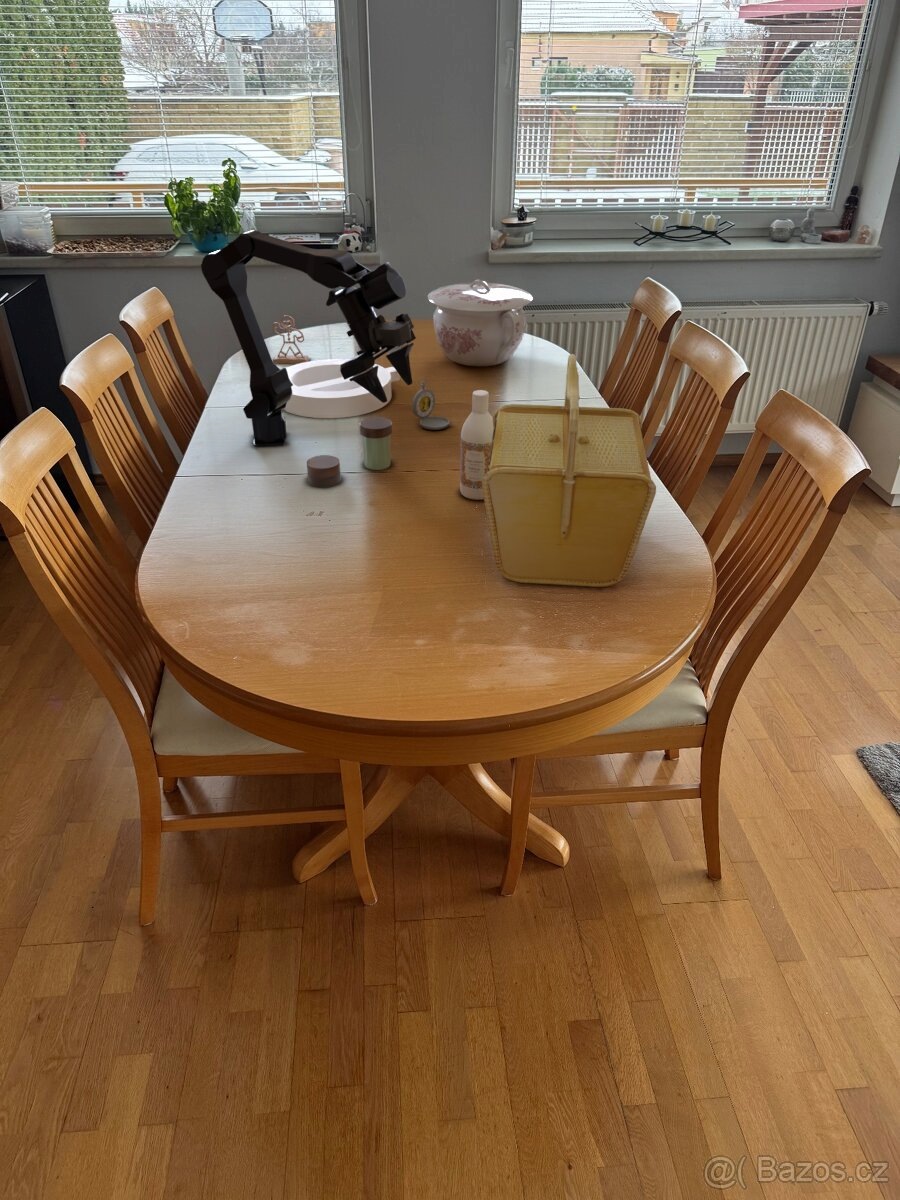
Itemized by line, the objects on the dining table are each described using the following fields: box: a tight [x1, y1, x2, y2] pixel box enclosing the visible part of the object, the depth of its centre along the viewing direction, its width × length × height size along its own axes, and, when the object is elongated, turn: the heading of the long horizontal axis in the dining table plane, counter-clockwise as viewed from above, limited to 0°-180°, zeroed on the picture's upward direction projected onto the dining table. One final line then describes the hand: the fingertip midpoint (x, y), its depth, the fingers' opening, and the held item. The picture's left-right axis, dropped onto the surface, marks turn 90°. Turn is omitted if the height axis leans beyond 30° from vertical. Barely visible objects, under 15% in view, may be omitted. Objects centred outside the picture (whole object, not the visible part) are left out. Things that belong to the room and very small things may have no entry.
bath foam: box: [459, 389, 494, 501], centre depth 164 cm, size 7×7×20 cm
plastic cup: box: [362, 435, 391, 471], centre depth 178 cm, size 5×5×7 cm
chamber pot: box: [427, 279, 534, 368], centre depth 232 cm, size 28×28×21 cm
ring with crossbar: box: [282, 358, 401, 419], centre depth 212 cm, size 28×28×5 cm
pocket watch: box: [411, 377, 450, 431], centre depth 196 cm, size 8×8×10 cm
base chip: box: [307, 471, 342, 488], centre depth 173 cm, size 6×6×2 cm
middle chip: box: [306, 454, 341, 478], centre depth 172 cm, size 6×6×2 cm
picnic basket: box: [482, 353, 657, 588], centre depth 143 cm, size 29×26×30 cm
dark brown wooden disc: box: [359, 416, 393, 438], centre depth 176 cm, size 6×6×2 cm
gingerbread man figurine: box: [272, 314, 310, 365], centre depth 232 cm, size 9×4×12 cm, turn 85°
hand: (398, 393), depth 173 cm, fingers open, 9 cm apart
